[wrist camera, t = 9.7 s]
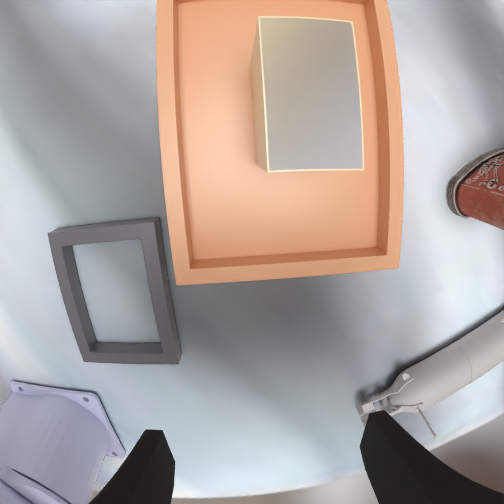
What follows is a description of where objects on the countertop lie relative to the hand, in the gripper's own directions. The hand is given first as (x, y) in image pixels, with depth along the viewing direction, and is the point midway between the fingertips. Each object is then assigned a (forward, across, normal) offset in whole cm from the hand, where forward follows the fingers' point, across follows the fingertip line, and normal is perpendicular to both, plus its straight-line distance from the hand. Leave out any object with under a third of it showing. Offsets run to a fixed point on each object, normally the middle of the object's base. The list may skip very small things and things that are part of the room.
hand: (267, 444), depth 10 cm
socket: (+9, +8, -2) cm, 13 cm away
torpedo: (+10, -16, +5) cm, 19 cm away
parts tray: (+9, -2, -11) cm, 15 cm away
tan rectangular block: (+9, -2, -11) cm, 14 cm away
